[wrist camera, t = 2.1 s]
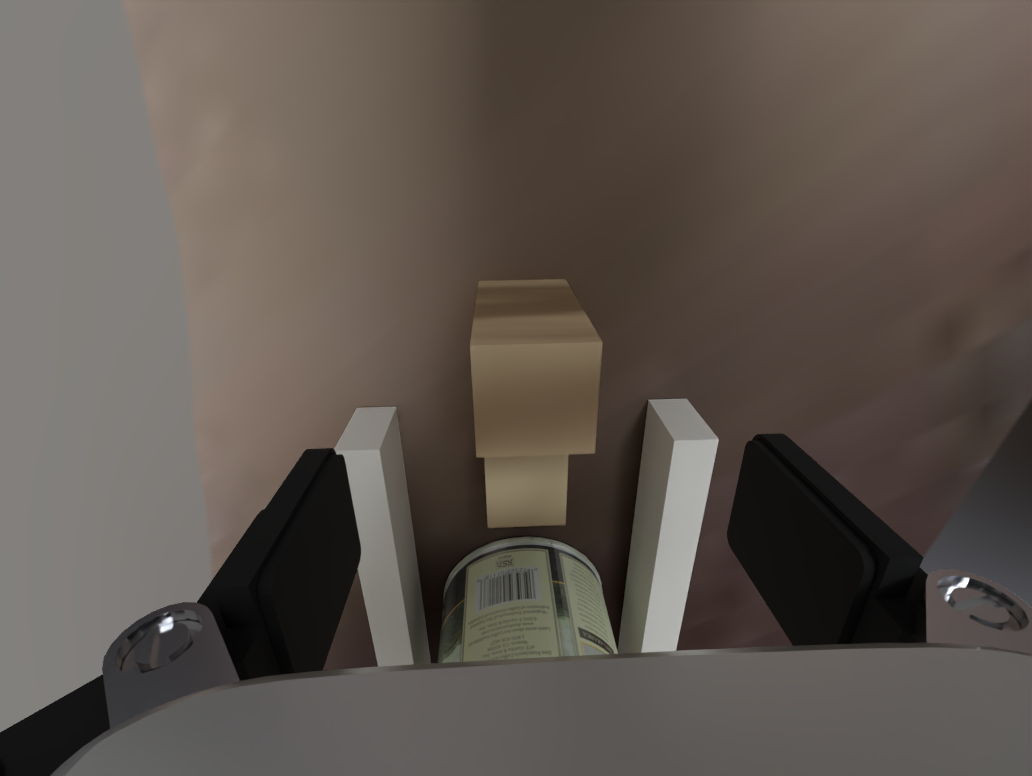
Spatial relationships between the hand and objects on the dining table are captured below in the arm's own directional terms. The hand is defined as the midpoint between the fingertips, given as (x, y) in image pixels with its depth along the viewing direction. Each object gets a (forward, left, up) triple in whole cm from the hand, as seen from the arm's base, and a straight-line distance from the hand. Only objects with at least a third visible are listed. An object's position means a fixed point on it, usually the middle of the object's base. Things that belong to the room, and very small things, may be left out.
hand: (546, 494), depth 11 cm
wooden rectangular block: (+4, 0, -13) cm, 14 cm away
